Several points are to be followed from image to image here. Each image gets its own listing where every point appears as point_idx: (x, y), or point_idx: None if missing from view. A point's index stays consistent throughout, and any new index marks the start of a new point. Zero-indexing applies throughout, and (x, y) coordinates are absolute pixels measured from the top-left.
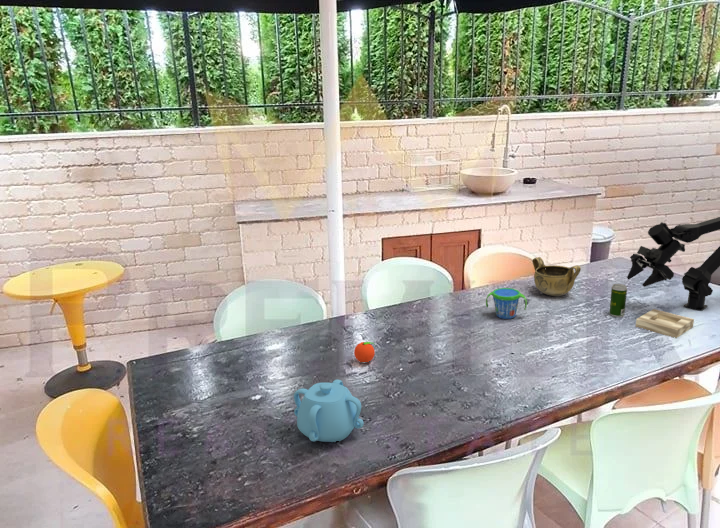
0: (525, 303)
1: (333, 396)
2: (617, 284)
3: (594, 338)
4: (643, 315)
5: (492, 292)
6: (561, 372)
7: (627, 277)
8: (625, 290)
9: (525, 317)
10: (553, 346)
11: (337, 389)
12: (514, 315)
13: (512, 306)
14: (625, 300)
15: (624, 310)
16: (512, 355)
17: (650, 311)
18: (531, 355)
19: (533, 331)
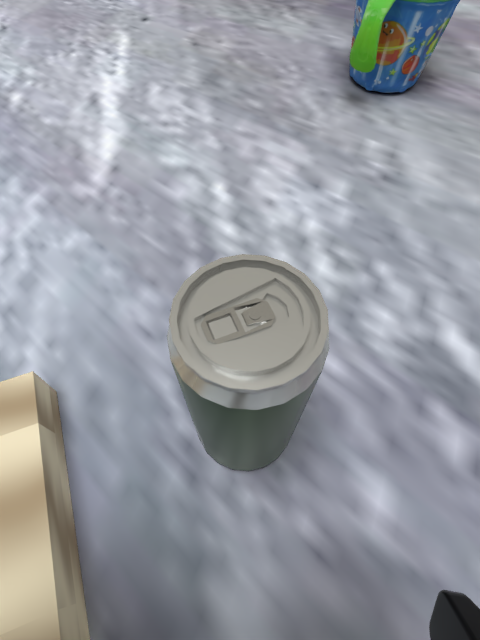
0: (361, 35)
1: None
2: (304, 330)
3: (86, 175)
4: (37, 466)
5: None
6: (3, 41)
7: (447, 591)
8: (168, 343)
9: (353, 109)
10: (119, 79)
11: None
12: (356, 73)
13: (355, 17)
14: (188, 407)
15: (199, 435)
16: (135, 17)
17: (48, 603)
18: (110, 35)
19: (235, 84)
